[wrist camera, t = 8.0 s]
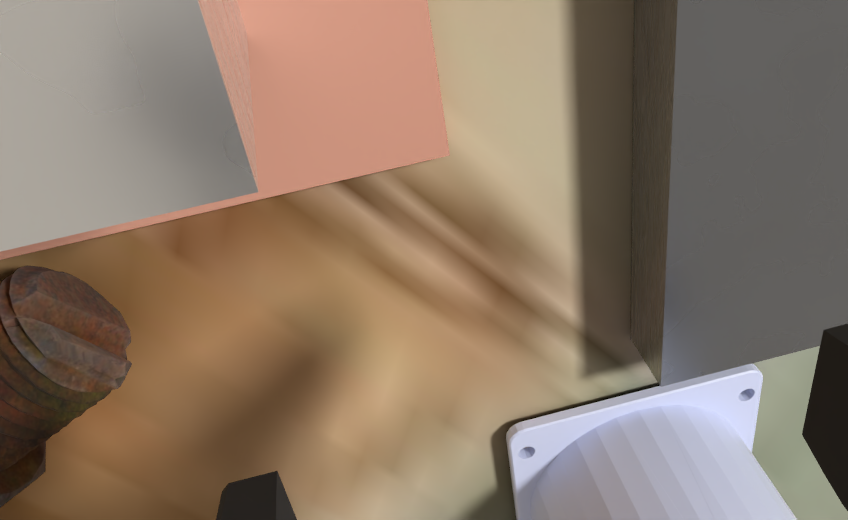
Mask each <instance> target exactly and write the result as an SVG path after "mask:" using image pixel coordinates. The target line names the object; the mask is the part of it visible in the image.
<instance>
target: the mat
mask: <svg viewBox="0 0 848 520" xmlns="http://www.w3.org/2000/svg"><path fill="white" fill-rule="evenodd" d="M237 2H238V5H239V9H240V12H241V15H242V19H243V22H244V26H245V29H246V33H247V41H248V55H249V69H250V83H251V96H252V110H253V124H254V138H255V151H256V165H257V179H258V192H257V193H252V194H248V195H244V196H239V197H235V198H231V199H226V200H222V201H218V202H213V203H209V204H205V205H200V206H196V207H192V208H187V209H183V210H179V211H174V212H170V213H166V214H161V215H157V216H153V217H148V218H144V219H140V220H135V221H131V222H127V223H122V224H118V225H114V226H109V227H105V228H101V229H96V230H92V231H88V232H83V233H79V234H75V235H70V236H66V237H62V238H57V239H53V240H49V241H44V242H40V243H36V244H31V245H27V246H23V247H18V248H14V249H10V250H5V251H1V252H0V260H2V259H6V258H10V257H15V256H19V255H23V254H27V253H32V252H36V251H40V250H45V249H49V248H53V247H58V246H62V245H66V244H70V243H75V242H79V241H83V240H88V239H92V238H96V237H101V236H105V235H109V234H113V233H118V232H122V231H126V230H131V229H135V228H139V227H144V226H148V225H152V224H156V223H161V222H165V221H169V220H174V219H178V218H182V217H186V216H191V215H195V214H199V213H204V212H208V211H212V210H217V209H221V208H225V207H229V206H234V205H238V204H242V203H247V202H251V201H255V200H260V199H264V198H268V197H272V196H277V195H281V194H285V193H290V192H294V191H298V190H303V189H307V188H311V187H315V186H320V185H324V184H328V183H333V182H337V181H341V180H346V179H350V178H354V177H358V176H363V175H367V174H371V173H376V172H380V171H384V170H389V169H393V168H397V167H401V166H406V165H410V164H414V163H419V162H423V161H427V160H432V159H436V158H440V157H444V156H449V155H450V154H449V147H448V140H447V134H446V127H445V120H444V113H443V106H442V99H441V92H440V85H439V78H438V72H437V65H436V58H435V51H434V44H433V37H432V30H431V23H430V16H429V10H428V3H427V0H237Z"/></svg>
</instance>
